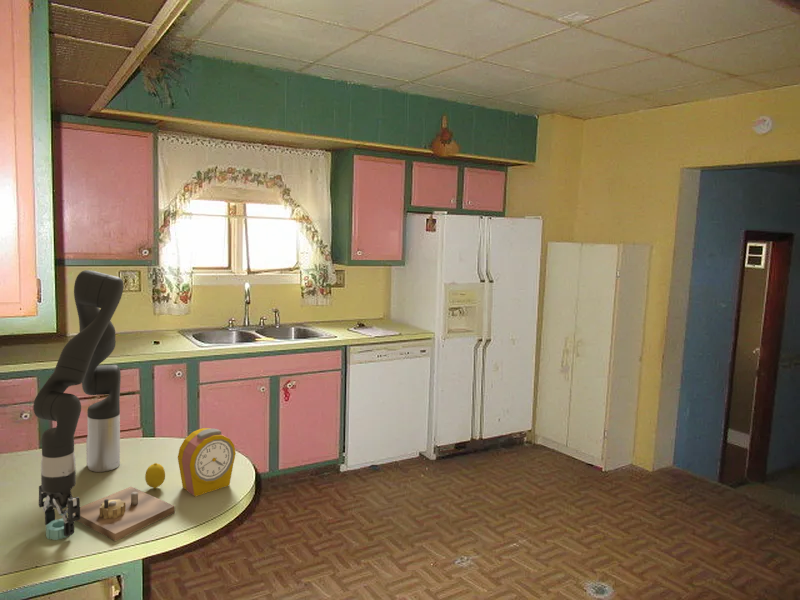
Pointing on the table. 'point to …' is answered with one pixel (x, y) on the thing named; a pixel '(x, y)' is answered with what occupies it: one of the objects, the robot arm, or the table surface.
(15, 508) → the table surface
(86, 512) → the gear board
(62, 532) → the teal gear
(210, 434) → the alarm clock
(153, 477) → the lemon
